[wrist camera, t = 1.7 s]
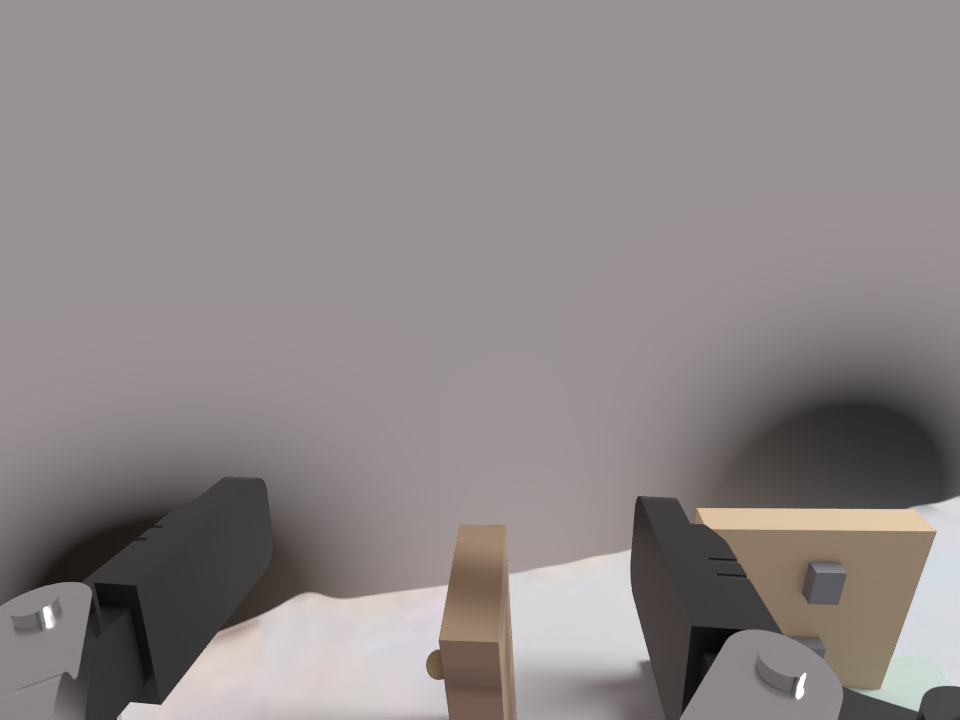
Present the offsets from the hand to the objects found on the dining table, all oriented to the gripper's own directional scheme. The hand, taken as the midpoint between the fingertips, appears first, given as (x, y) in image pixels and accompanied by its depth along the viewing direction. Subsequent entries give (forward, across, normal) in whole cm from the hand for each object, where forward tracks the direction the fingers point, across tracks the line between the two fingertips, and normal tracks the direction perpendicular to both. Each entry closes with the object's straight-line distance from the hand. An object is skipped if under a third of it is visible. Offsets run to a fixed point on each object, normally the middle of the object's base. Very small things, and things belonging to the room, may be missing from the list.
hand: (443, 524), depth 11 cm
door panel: (+14, 0, +26) cm, 29 cm away
